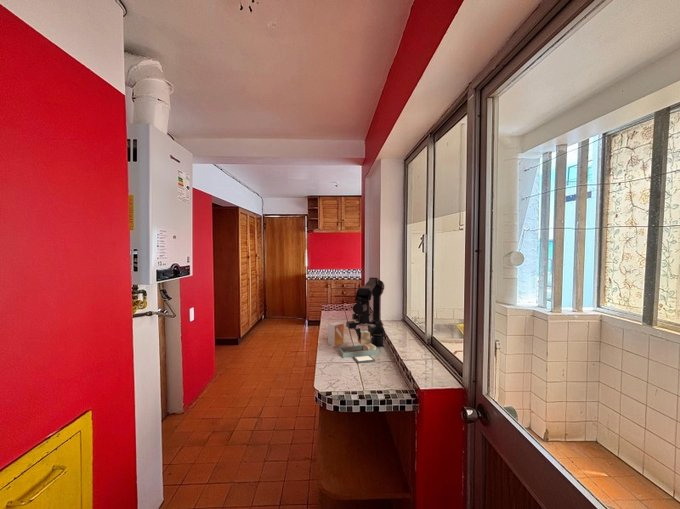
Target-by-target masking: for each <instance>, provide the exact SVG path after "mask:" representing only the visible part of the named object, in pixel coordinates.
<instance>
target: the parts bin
mask: <svg viewBox="0 0 680 509" xmlns="http://www.w3.org/2000/svg"><path fill="white" fill-rule="evenodd" d="M337 352H338V355H340V356H341V357H342V358H345V357H346V358H353V357H356V356H367V355H370V356H375V355H380V349H379V347H376V350H367V351H363V344H360V345H350V346H349V345H348V346H339V347H337Z"/></svg>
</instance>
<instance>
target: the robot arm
mask: <svg viewBox="0 0 680 509" xmlns="http://www.w3.org/2000/svg"><path fill="white" fill-rule="evenodd" d="M384 290H385V283H384V282H383V281H382V280H380V278H378V277H373V276H372V277H369V279H368V281H367V282H366V283H365V284H364V285H363V286H362V285H361V286H360V287H358V288H357V289H356V292H355V297H354V301H355V302H356V303H355V304H353V307H352V311H353V313H352V318H351V319H352V320H349V321H348V320H347V321H346V323H345V326H346V328H348V329H349V330H352V329H353V330H354V331H355V333H356V336H357V340H358V339H359V340H360V331H361V328H360V327H365V326H366V327H367V331H369V332H370V343H371V344H373V345H374V346H376V348H383V347H385V345H384V338H386V330H385V328H384V323H383V321H382V320H381V318H382V317H381V316H382V315H381V309H382V308H381V307H382V304H381V302H382V299H381V298H382V294H383V293H384ZM372 298H373V300H372ZM371 300H372V301H373V302H372V314H373V315H372V319H371V321H370V316H371V313H370V308H371V307H370V302H371Z"/></svg>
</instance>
